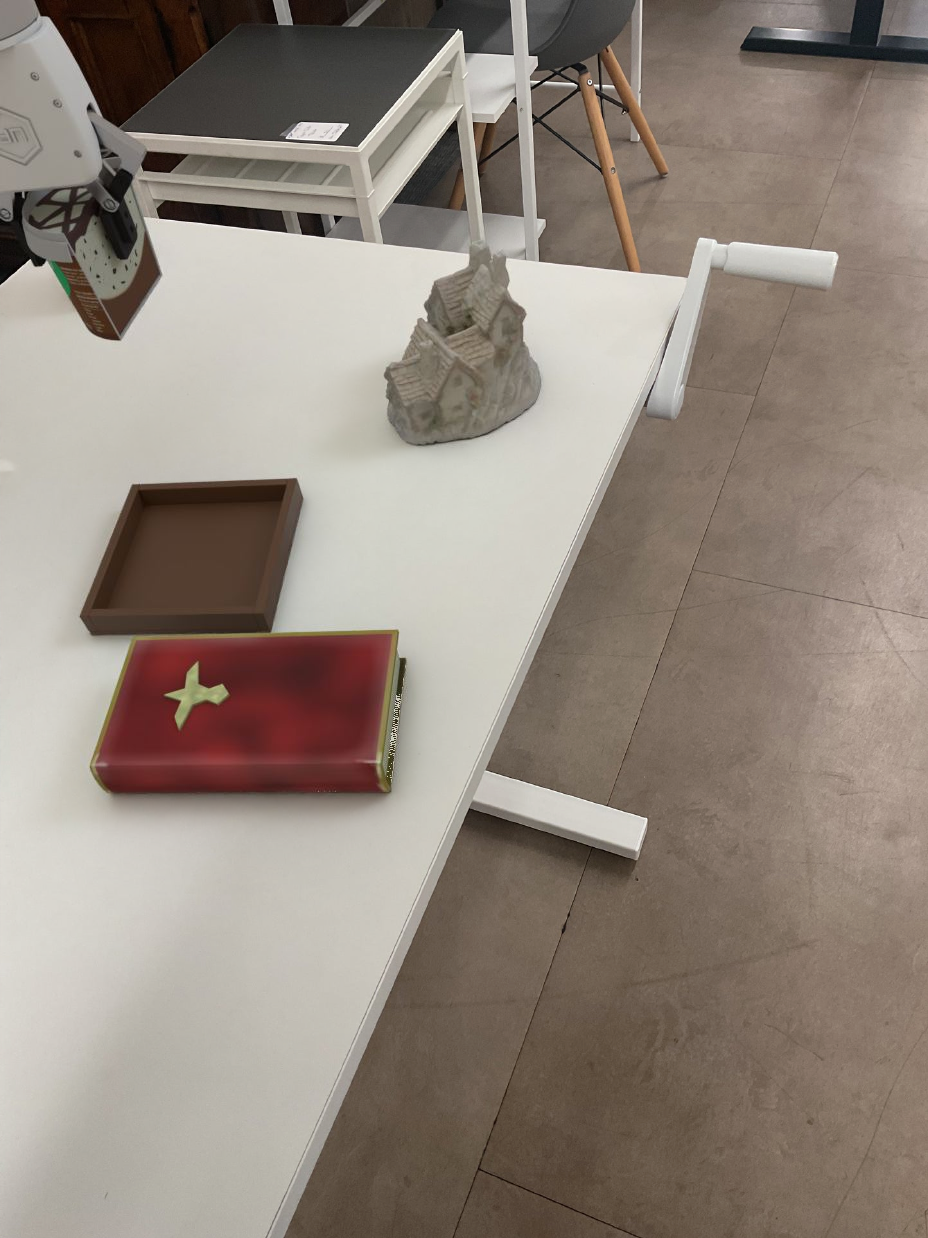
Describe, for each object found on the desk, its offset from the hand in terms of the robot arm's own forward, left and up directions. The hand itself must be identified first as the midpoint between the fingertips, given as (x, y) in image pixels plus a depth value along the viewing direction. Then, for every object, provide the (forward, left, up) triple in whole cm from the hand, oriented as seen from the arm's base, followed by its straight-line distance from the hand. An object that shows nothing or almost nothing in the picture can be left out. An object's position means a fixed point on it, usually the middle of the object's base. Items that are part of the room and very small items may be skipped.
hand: (85, 252), depth 81 cm
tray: (+6, -14, -22) cm, 27 cm away
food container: (0, 0, -5) cm, 5 cm away
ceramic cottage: (+27, +9, -22) cm, 36 cm away
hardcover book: (+15, -31, -22) cm, 41 cm away
